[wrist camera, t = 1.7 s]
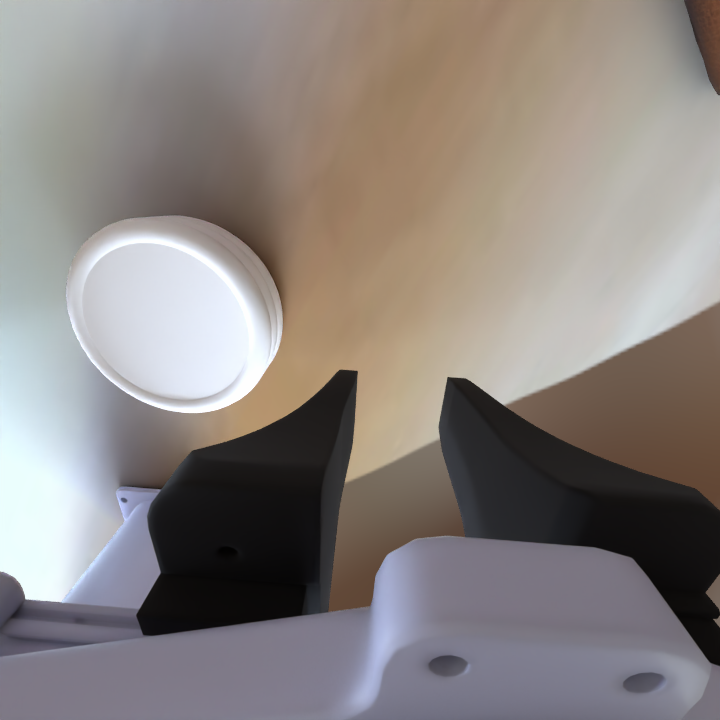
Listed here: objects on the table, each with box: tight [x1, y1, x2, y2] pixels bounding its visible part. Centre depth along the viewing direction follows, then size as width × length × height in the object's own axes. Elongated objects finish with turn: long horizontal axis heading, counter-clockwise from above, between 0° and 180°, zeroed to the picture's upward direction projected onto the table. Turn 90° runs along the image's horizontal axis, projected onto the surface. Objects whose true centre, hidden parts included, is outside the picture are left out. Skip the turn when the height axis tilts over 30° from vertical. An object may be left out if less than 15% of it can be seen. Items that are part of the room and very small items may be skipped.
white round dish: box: [66, 215, 283, 413], centre depth 18 cm, size 10×10×4 cm
